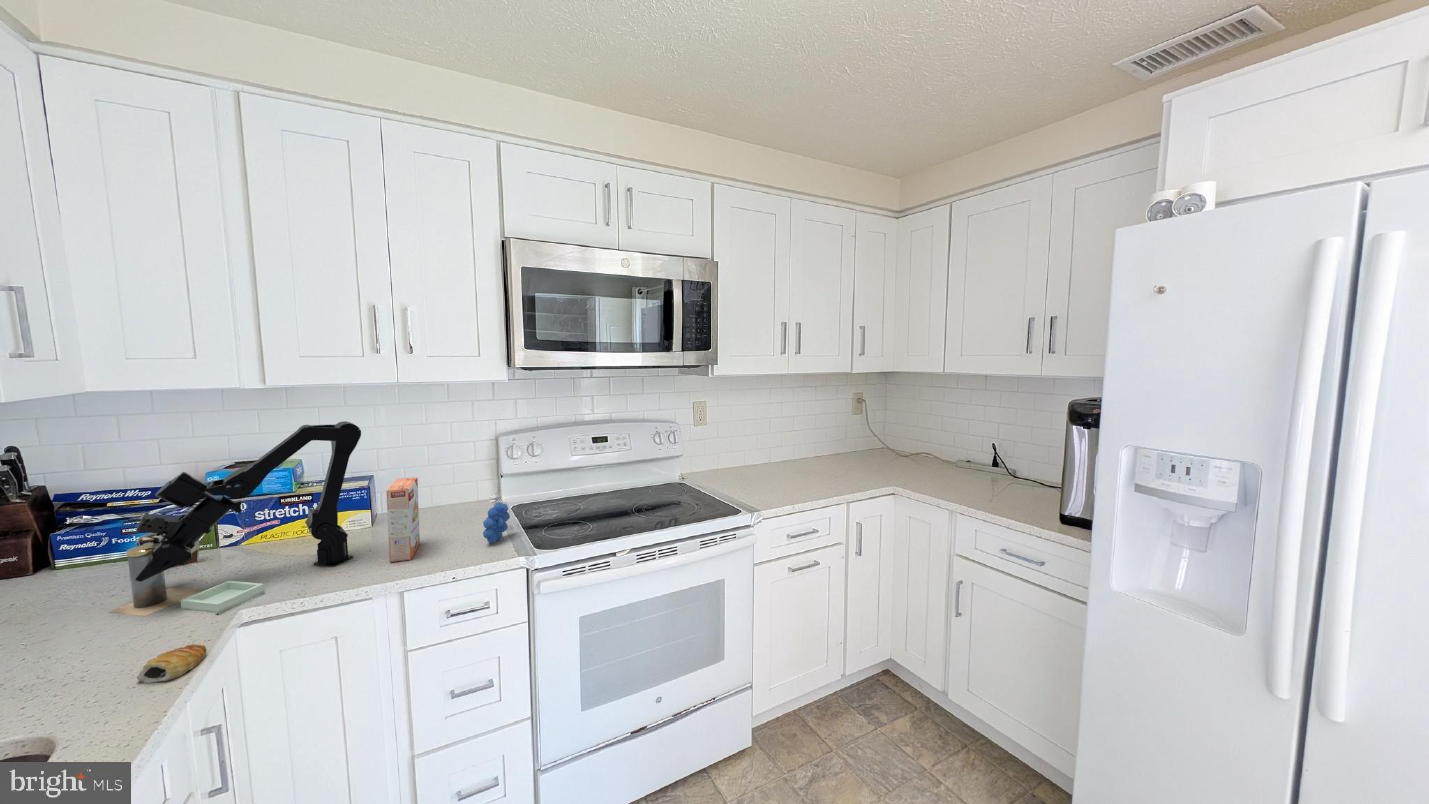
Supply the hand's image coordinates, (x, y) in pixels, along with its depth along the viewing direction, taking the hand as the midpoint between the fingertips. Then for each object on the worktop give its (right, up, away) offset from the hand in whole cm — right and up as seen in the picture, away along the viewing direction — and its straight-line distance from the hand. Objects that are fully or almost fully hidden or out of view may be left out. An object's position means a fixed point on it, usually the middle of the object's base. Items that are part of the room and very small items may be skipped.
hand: (138, 576), depth 115 cm
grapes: (+63, -4, +43) cm, 76 cm away
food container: (-16, -5, +22) cm, 28 cm away
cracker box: (+41, -4, +33) cm, 53 cm away
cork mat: (+2, -7, +3) cm, 8 cm away
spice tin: (+1, -6, +2) cm, 7 cm away
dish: (+16, -7, +3) cm, 18 cm away
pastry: (+31, -10, -21) cm, 39 cm away
